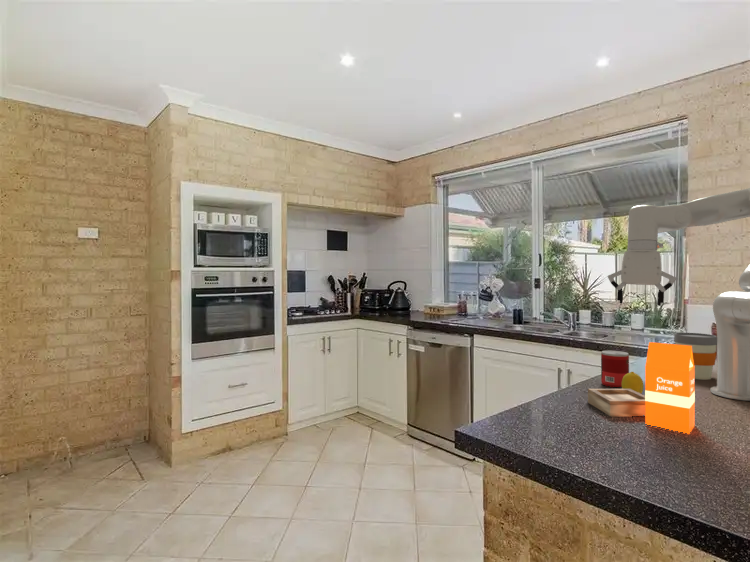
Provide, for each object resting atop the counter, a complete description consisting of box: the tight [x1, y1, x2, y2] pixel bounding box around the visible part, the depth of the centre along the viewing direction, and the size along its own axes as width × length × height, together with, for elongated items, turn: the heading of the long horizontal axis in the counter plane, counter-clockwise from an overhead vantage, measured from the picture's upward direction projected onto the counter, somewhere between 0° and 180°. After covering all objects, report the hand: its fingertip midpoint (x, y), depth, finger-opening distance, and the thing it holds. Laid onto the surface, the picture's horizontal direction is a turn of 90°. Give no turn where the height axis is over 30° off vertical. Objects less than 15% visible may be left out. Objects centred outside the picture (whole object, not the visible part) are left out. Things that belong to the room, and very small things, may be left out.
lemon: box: [621, 371, 644, 394], centre depth 124 cm, size 6×6×8 cm
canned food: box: [600, 350, 630, 388], centre depth 138 cm, size 8×8×11 cm
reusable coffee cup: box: [673, 332, 717, 380], centre depth 149 cm, size 12×13×15 cm
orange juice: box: [644, 341, 696, 435], centre depth 101 cm, size 8×9×20 cm
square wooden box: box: [587, 388, 645, 417], centre depth 114 cm, size 12×12×4 cm
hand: (639, 304), depth 124 cm, fingers open, 9 cm apart
